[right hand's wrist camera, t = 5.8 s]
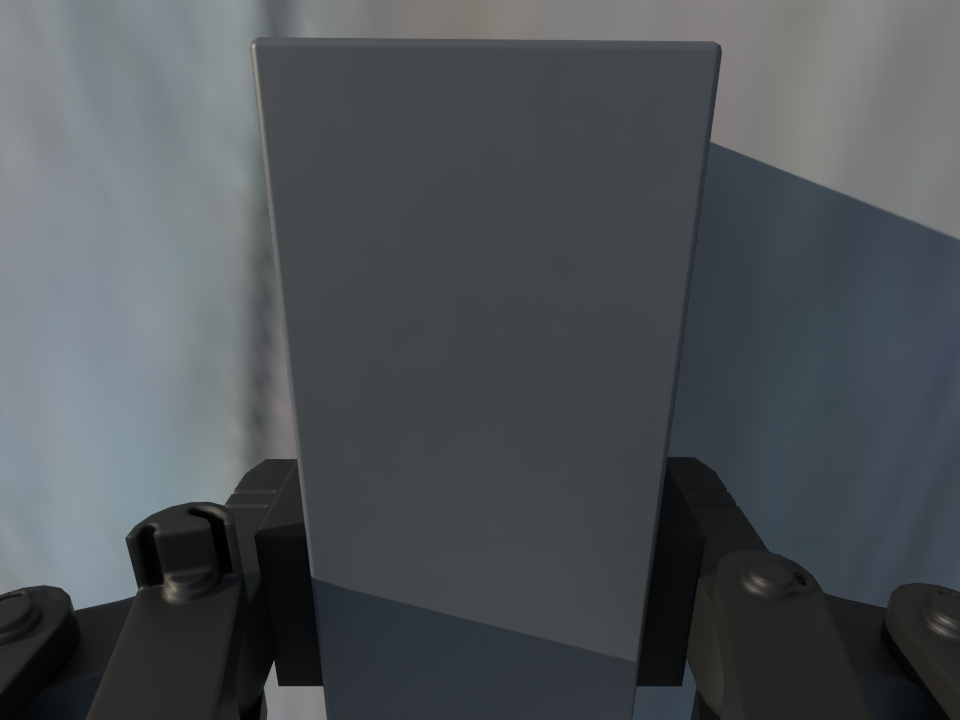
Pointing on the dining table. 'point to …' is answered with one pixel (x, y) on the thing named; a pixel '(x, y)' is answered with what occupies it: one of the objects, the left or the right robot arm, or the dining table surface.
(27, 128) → the dining table surface
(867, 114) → the dining table surface
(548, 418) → the plank
